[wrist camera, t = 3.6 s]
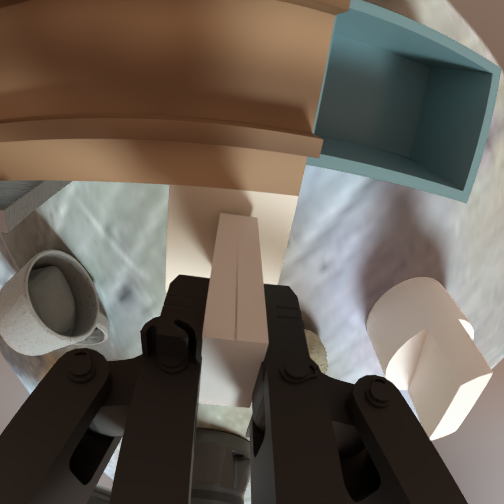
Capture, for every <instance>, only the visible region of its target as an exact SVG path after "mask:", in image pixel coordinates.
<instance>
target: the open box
mask: <svg viewBox="0 0 504 504" xmlns="http://www.w3.org/2000/svg"><path fill="white" fill-rule="evenodd" d="M500 74H501V68H500V67H498V66H497V65H495V64H494V63H492V62H490V61H489V60H487V59H486V58H484V57H483V56H481V55H479V54H478V53H476V52H474V51H473V50H471V49H469V48H467V47H466V46H464V45H462V44H460V43H458V42H457V41H455V40H453V39H451V38H449V37H447V36H445V35H443V34H441V33H439V32H437V31H435V30H433V29H431V28H429V27H427V26H425V25H423V24H421V23H419V22H416V21H414V20H412V19H409V18H407V17H405V16H402V15H400V14H398V13H395V12H393V11H390V10H387V9H385V8H382V7H379V6H377V5H374V4H371V3H368V2H365V1H362V0H351V1H350V7H349V11H347V12H344V13H341V14H338V15H335V19H334V24H333V30H332V35H331V41H330V46H329V52H328V57H327V62H326V67H325V73H324V78H323V83H322V88H321V93H320V98H319V103H318V108H317V113H316V118H315V122H314V127H313V132H312V133H313V134H315V135H317V136H318V137H320V138H322V139H324V140H323V144H322V149H321V153H320V157H319V158H313V157H307V160H306V165H312V166H317V167H322V168H327V169H332V170H337V171H342V172H347V173H352V174H356V175H361V176H365V177H370V178H374V179H378V180H383V181H387V182H391V183H395V184H399V185H403V186H407V187H411V188H415V189H418V190H422V191H426V192H429V193H433V194H437V195H440V196H444V197H447V198H451V199H454V200H457V201H461V202H464V203H467V201H468V198H469V196H470V193H471V190H472V187H473V184H474V181H475V178H476V175H477V171H478V168H479V165H480V162H481V158H482V155H483V151H484V148H485V144H486V140H487V136H488V132H489V128H490V124H491V120H492V116H493V111H494V106H495V102H496V96H497V91H498V86H499V80H500Z"/></svg>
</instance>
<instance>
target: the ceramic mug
mask: <svg viewBox="0 0 504 504" xmlns="http://www.w3.org/2000/svg"><path fill="white" fill-rule="evenodd" d="M96 327H98V328H99V329H97V330H94V329H95V328H96ZM0 335H1V337H2V338H3V340H4V341H5V343H6V344H7V345H8V346H9V347H10V348H12V349H13V350H15V351H16V352H18V353H21V354H23V355H29V356H36V355H43V354H46V353H49V352H51V351H53V350H56V349H60V348H62V347H65V346H68V345H71V344H74V345H82V346H89V345H96V344H100V343H102V342H104V341H106V340H107V339H108V337H109V321H108V319H107V317H106V316H105V315H104V314H102V313H101V312H100V311H99V299H98V294H97V291H96V288H95V286H94V283H93V281H92V279H91V278H90V276H89V274H88V273H87V271H86V270H85V268H84V267H83V266H82V265H81V264H80V263H79V262H78V261H77V260H76V259H75V258H74V257H72V256H71V255H69V254H67V253H65V252H63V251H60V250H54V249H52V250H45V251H42V252H39V253H38V254H36V255H35V256H34V257H33V258H32V259H30V260H29V262H27V263H26V264H25V265H24V266H23V267H22V268H21V269H20V270H19V271H18V272H17V273H16V274H15V275H14V276H13V277H12V278H11V279H10V280H9V281H8V282H7V283H6V284H5V285H4V286H3V288H2V289H1V291H0Z"/></svg>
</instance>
